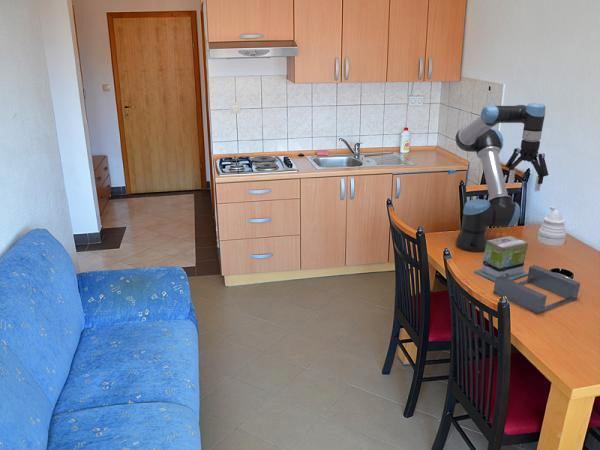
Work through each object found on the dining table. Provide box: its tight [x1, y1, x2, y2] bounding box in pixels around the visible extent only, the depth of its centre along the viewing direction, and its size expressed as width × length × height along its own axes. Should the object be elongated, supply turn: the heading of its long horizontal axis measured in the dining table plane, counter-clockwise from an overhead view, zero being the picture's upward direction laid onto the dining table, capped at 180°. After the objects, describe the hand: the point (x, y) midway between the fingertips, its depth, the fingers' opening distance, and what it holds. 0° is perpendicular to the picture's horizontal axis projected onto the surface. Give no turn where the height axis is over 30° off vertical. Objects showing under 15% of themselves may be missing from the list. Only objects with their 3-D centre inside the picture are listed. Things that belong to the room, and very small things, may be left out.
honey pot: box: [536, 205, 567, 246], centre depth 271 cm, size 13×13×18 cm
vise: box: [492, 264, 581, 315], centre depth 215 cm, size 20×32×7 cm, turn 122°
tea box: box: [481, 235, 529, 278], centre depth 231 cm, size 15×10×15 cm, turn 119°
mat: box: [473, 268, 529, 283], centre depth 234 cm, size 14×19×1 cm
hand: (523, 187), depth 239 cm, fingers open, 13 cm apart
